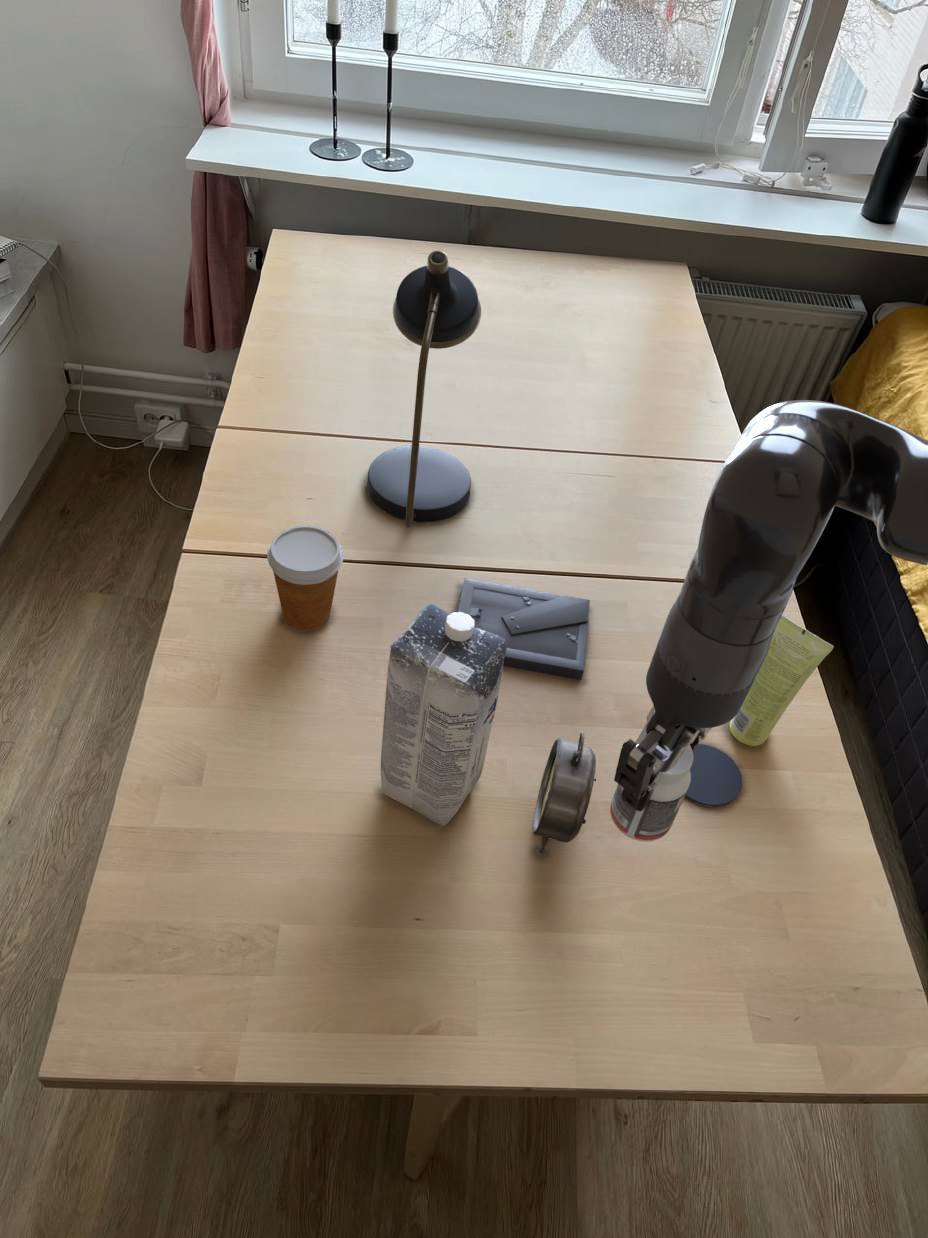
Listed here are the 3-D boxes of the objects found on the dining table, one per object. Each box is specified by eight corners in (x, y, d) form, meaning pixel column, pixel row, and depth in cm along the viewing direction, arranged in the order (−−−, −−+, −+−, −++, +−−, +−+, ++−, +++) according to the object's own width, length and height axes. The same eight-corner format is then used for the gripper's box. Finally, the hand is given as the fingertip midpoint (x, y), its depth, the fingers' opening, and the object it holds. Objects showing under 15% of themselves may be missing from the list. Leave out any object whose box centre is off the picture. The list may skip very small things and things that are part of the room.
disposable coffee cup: (256, 622, 128) (251, 555, 119) (295, 579, 134) (293, 513, 126) (318, 650, 126) (318, 584, 117) (355, 605, 132) (357, 539, 123)
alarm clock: (540, 778, 116) (564, 692, 104) (584, 789, 115) (614, 704, 103) (525, 857, 108) (550, 774, 96) (573, 869, 108) (603, 787, 96)
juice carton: (448, 839, 109) (475, 686, 89) (369, 795, 111) (379, 637, 92) (485, 783, 114) (519, 628, 95) (410, 743, 117) (427, 584, 98)
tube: (766, 717, 126) (822, 613, 112) (775, 748, 123) (834, 646, 108) (724, 715, 125) (775, 610, 111) (732, 746, 122) (786, 643, 108)
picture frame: (587, 609, 136) (463, 587, 137) (590, 598, 135) (464, 576, 135) (581, 680, 127) (448, 656, 127) (584, 669, 125) (450, 645, 126)
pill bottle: (678, 805, 89) (708, 740, 82) (661, 854, 85) (691, 790, 78) (619, 780, 90) (643, 714, 83) (600, 828, 86) (624, 763, 79)
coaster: (755, 778, 119) (756, 776, 119) (714, 820, 114) (715, 818, 114) (696, 733, 123) (697, 731, 123) (654, 772, 118) (655, 770, 118)
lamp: (475, 461, 157) (508, 230, 130) (461, 549, 142) (495, 309, 114) (377, 446, 157) (389, 211, 130) (352, 533, 142) (360, 288, 114)
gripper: (697, 734, 66) (640, 861, 78) (801, 633, 74) (735, 762, 86) (611, 672, 69) (569, 802, 81) (719, 581, 77) (667, 712, 89)
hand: (654, 781), depth 84 cm, fingers closed on pill bottle, 5 cm apart
